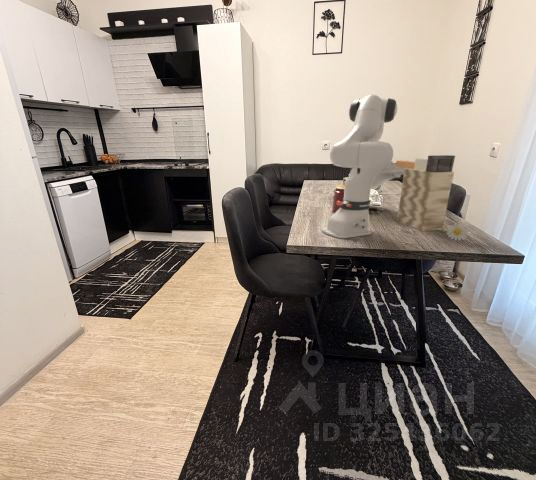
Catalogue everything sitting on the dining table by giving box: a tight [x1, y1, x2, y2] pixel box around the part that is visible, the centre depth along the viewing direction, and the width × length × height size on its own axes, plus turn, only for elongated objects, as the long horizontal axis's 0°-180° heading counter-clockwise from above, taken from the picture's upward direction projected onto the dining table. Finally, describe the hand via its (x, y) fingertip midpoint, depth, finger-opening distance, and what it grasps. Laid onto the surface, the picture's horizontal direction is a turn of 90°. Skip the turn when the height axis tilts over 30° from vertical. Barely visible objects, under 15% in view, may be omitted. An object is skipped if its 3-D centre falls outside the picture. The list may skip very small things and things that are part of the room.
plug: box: [396, 157, 428, 171], centre depth 136 cm, size 24×6×5 cm, turn 12°
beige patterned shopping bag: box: [396, 154, 456, 232], centre depth 131 cm, size 19×10×33 cm, turn 11°
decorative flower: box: [435, 223, 469, 241], centre depth 120 cm, size 8×6×15 cm
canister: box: [331, 180, 347, 213], centre depth 161 cm, size 13×13×18 cm
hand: (399, 162), depth 147 cm, fingers open, 8 cm apart
